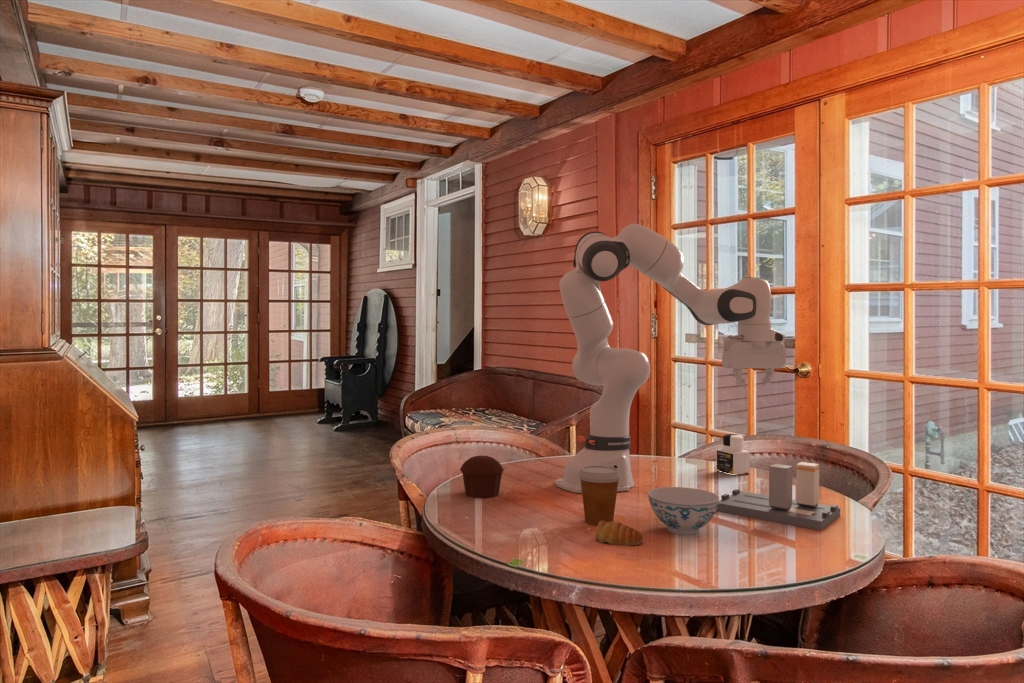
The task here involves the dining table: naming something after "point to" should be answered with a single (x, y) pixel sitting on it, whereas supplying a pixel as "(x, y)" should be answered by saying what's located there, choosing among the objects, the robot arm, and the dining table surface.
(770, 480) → the fader
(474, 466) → the muffin
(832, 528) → the dining table surface
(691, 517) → the chinaware
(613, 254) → the robot arm
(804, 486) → the block
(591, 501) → the disposable coffee cup
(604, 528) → the pastry
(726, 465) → the medicine bottle
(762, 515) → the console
